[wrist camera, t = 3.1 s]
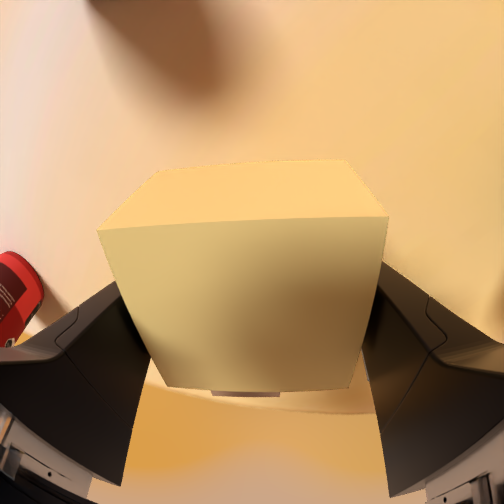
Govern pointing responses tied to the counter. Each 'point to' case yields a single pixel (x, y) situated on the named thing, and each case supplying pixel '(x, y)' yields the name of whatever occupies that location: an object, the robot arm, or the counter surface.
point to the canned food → (17, 297)
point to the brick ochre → (250, 273)
